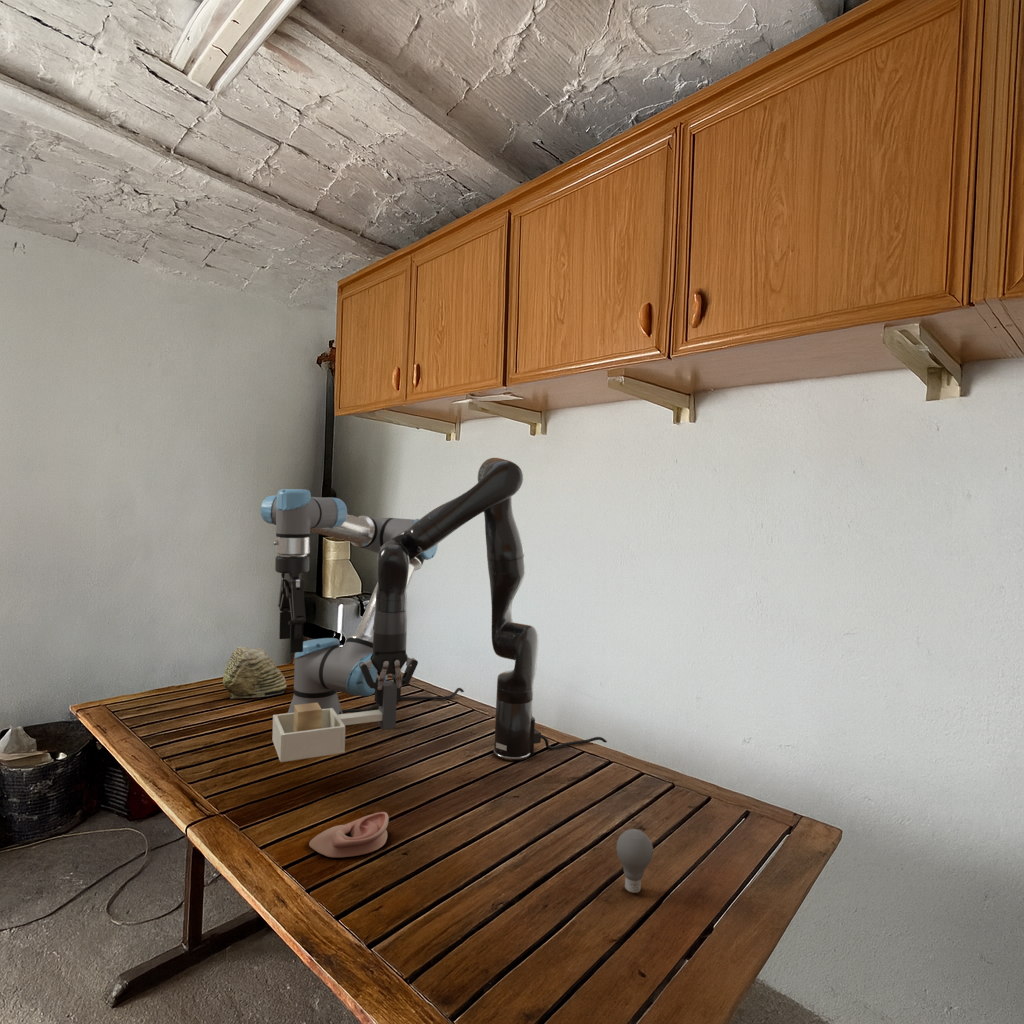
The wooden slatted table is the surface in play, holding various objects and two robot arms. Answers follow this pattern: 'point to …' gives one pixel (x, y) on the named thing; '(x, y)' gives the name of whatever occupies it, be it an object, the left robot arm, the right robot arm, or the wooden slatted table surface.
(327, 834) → the anatomical model
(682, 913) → the wooden slatted table surface
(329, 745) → the handled bin
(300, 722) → the birch block
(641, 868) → the light bulb
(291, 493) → the left robot arm
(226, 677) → the fossil
